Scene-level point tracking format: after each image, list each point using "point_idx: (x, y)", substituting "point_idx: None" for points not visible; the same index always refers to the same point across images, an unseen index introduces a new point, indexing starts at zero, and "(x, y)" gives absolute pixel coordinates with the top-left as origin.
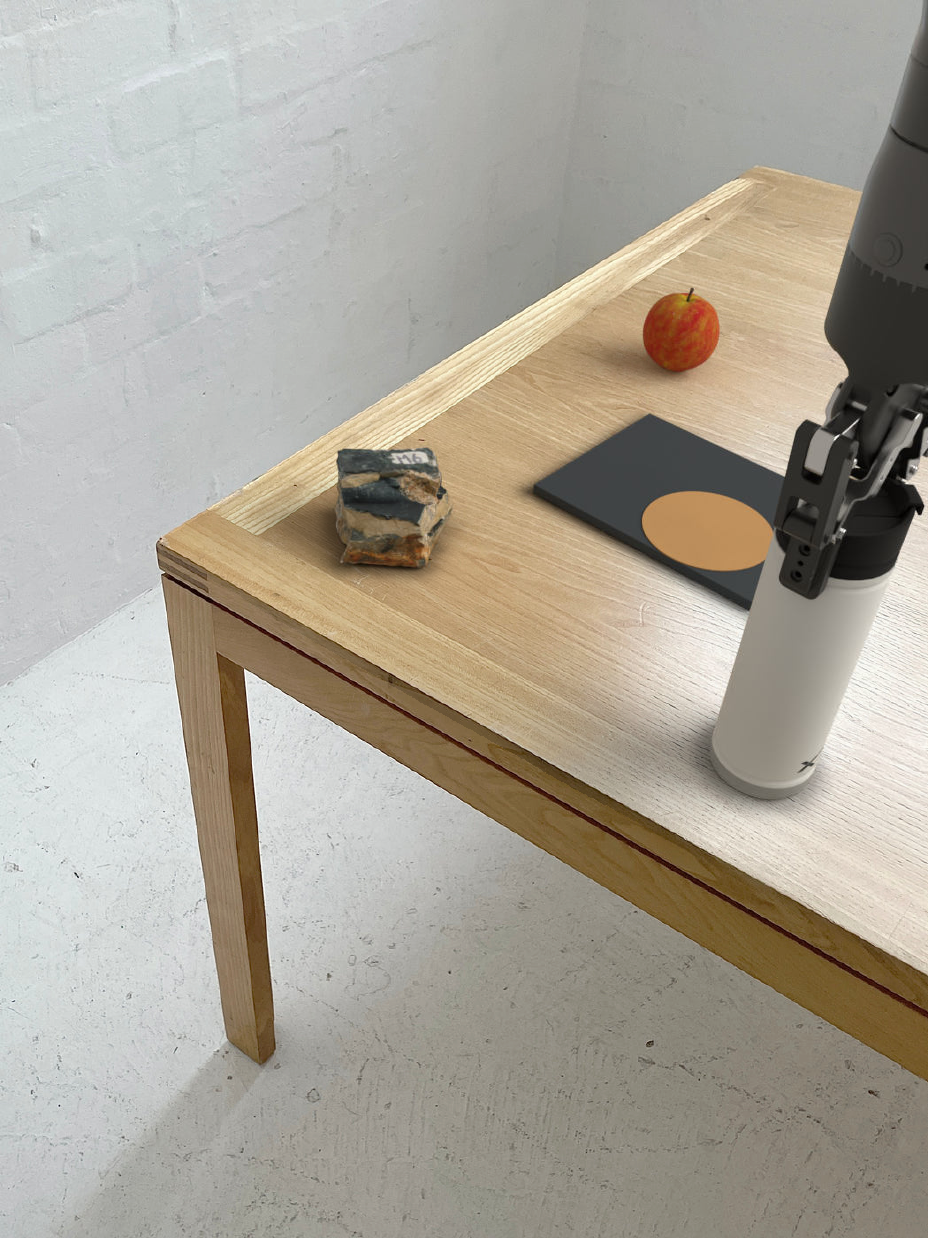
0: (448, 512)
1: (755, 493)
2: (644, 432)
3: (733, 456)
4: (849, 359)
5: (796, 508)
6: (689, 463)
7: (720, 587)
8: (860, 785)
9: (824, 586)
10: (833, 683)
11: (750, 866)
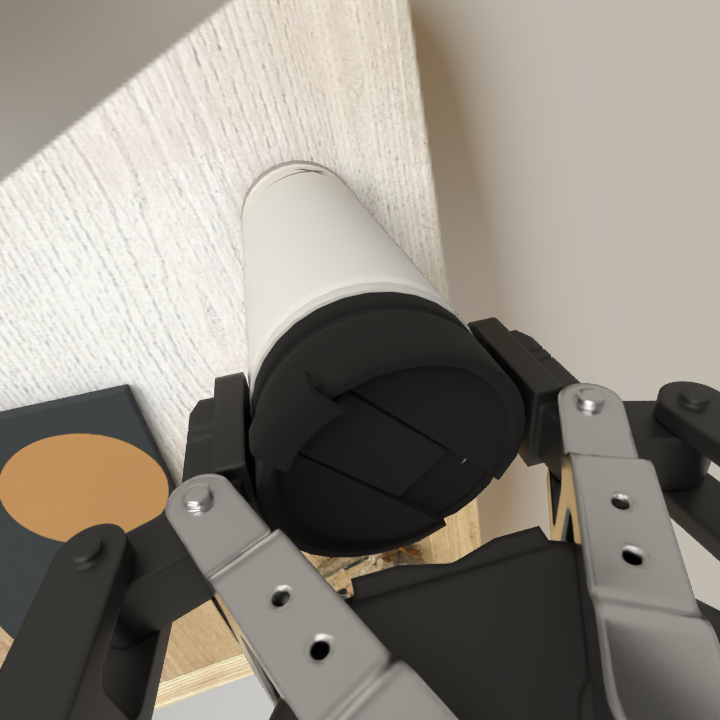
0: (333, 574)
1: None
2: None
3: None
4: None
5: (678, 489)
6: (25, 573)
7: (142, 423)
8: (221, 120)
9: (486, 327)
10: (352, 211)
11: (420, 126)
